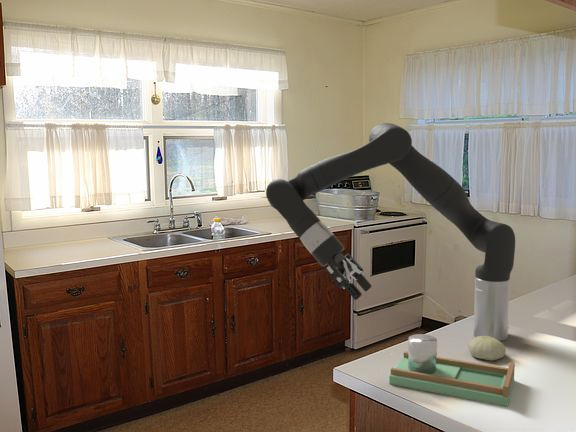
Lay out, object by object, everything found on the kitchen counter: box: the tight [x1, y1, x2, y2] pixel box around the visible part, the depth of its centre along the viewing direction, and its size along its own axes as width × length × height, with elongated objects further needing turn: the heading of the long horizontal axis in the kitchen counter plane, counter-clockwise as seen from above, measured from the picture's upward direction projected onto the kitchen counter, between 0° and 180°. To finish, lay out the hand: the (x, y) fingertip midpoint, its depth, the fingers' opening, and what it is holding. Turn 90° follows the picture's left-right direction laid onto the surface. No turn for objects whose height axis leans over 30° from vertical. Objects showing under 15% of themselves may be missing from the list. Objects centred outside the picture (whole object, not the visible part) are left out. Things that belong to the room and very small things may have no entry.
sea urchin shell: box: [468, 336, 507, 362], centre depth 144 cm, size 9×8×8 cm
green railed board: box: [388, 351, 516, 407], centre depth 129 cm, size 14×26×4 cm, turn 62°
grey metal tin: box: [407, 333, 438, 374], centre depth 132 cm, size 7×7×8 cm
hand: (364, 293), depth 135 cm, fingers open, 8 cm apart
